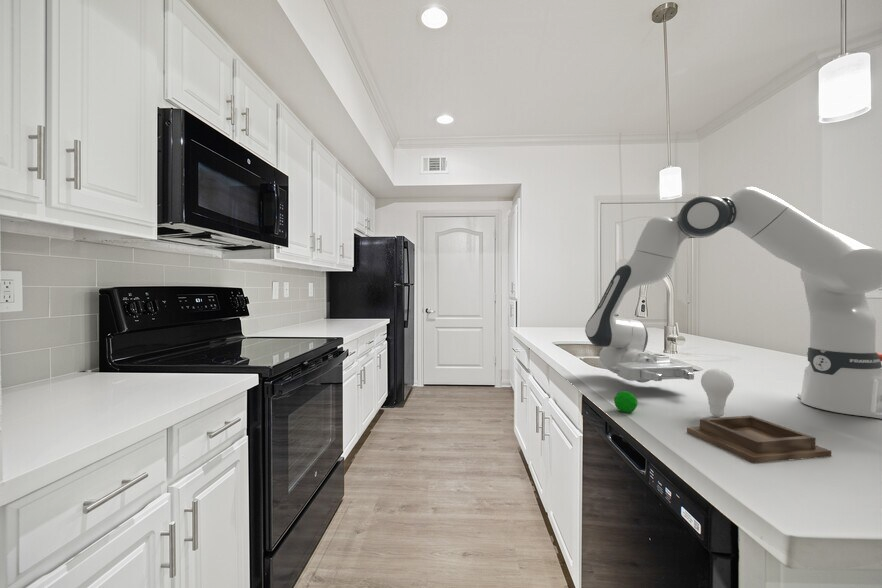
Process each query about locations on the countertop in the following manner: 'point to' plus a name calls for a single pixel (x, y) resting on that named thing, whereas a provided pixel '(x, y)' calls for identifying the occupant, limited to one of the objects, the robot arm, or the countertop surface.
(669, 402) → the countertop surface
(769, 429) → the brown rimmed tray
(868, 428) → the countertop surface
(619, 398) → the polyhedron
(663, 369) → the robot arm
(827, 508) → the countertop surface
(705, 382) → the lightbulb
